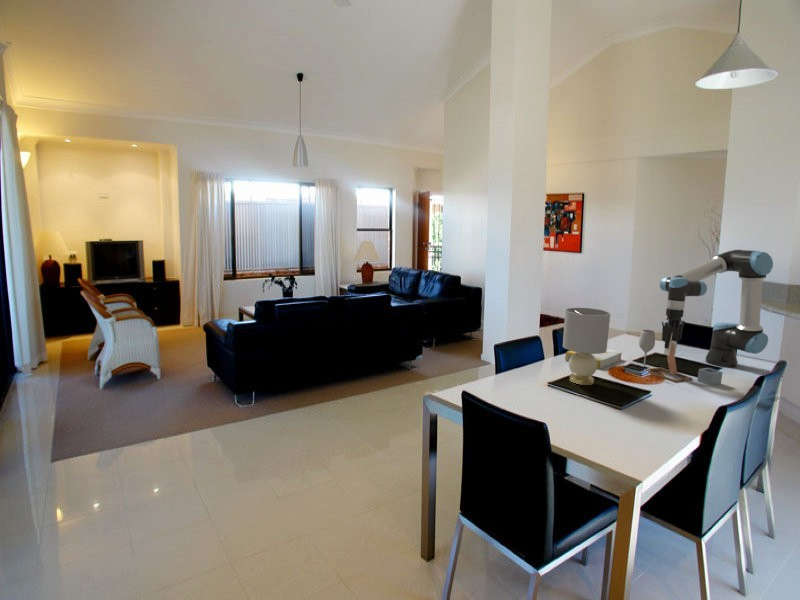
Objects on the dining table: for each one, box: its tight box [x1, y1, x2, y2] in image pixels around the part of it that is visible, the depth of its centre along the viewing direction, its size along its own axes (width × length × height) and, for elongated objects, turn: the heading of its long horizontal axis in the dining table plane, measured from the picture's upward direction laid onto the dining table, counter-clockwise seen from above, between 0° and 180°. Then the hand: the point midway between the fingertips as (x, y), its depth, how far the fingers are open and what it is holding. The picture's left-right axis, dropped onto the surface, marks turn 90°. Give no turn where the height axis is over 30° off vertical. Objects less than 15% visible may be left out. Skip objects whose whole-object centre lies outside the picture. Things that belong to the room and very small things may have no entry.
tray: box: [644, 366, 693, 386], centre depth 247 cm, size 12×18×2 cm, turn 22°
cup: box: [696, 367, 723, 387], centre depth 237 cm, size 7×7×8 cm
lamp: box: [562, 307, 611, 386], centre depth 235 cm, size 20×20×35 cm
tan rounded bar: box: [666, 341, 678, 375], centre depth 245 cm, size 8×3×16 cm, turn 22°
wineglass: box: [638, 329, 656, 367], centre depth 260 cm, size 8×8×21 cm
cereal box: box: [564, 348, 623, 370], centre depth 276 cm, size 20×6×28 cm
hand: (669, 354), depth 245 cm, fingers closed on tan rounded bar, 3 cm apart
